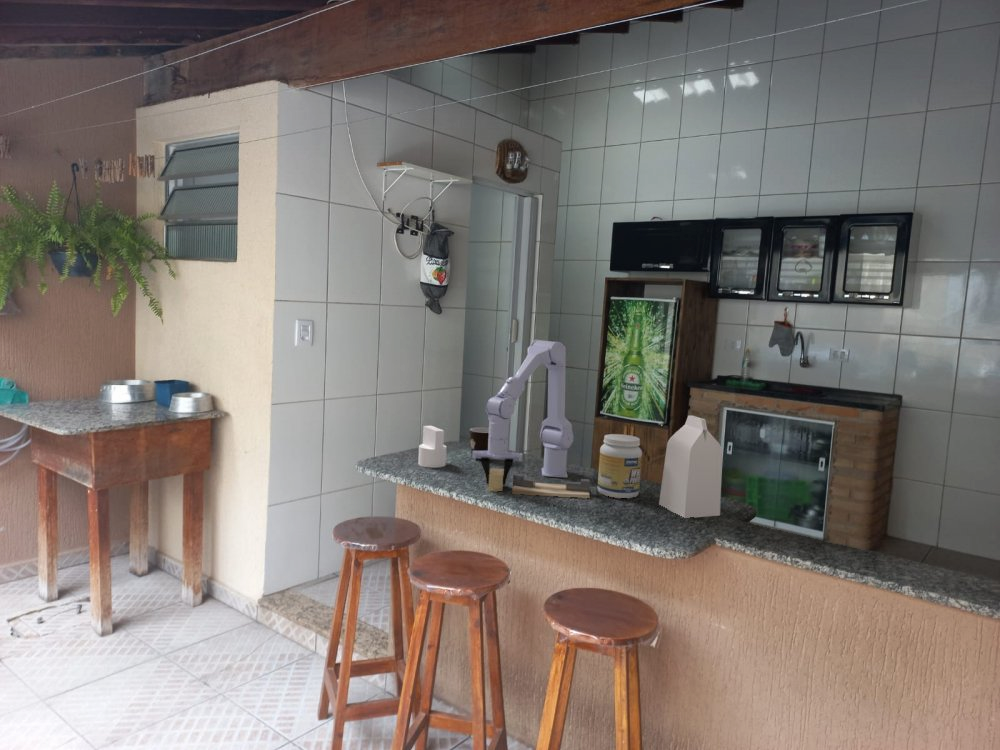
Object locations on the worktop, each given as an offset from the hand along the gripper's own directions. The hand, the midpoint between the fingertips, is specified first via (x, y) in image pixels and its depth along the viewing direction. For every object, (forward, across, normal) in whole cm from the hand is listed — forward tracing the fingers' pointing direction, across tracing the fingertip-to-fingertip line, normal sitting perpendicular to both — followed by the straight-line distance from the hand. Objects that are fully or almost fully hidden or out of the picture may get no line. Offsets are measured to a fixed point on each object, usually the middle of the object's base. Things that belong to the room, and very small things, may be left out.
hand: (495, 483), depth 203 cm
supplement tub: (+2, +36, +2) cm, 36 cm away
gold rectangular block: (+1, 0, 0) cm, 1 cm away
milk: (+2, +54, -10) cm, 55 cm away
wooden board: (+1, +16, 0) cm, 16 cm away
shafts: (0, +16, +1) cm, 16 cm away
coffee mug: (+2, -6, +34) cm, 35 cm away
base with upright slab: (+2, -22, +24) cm, 33 cm away
